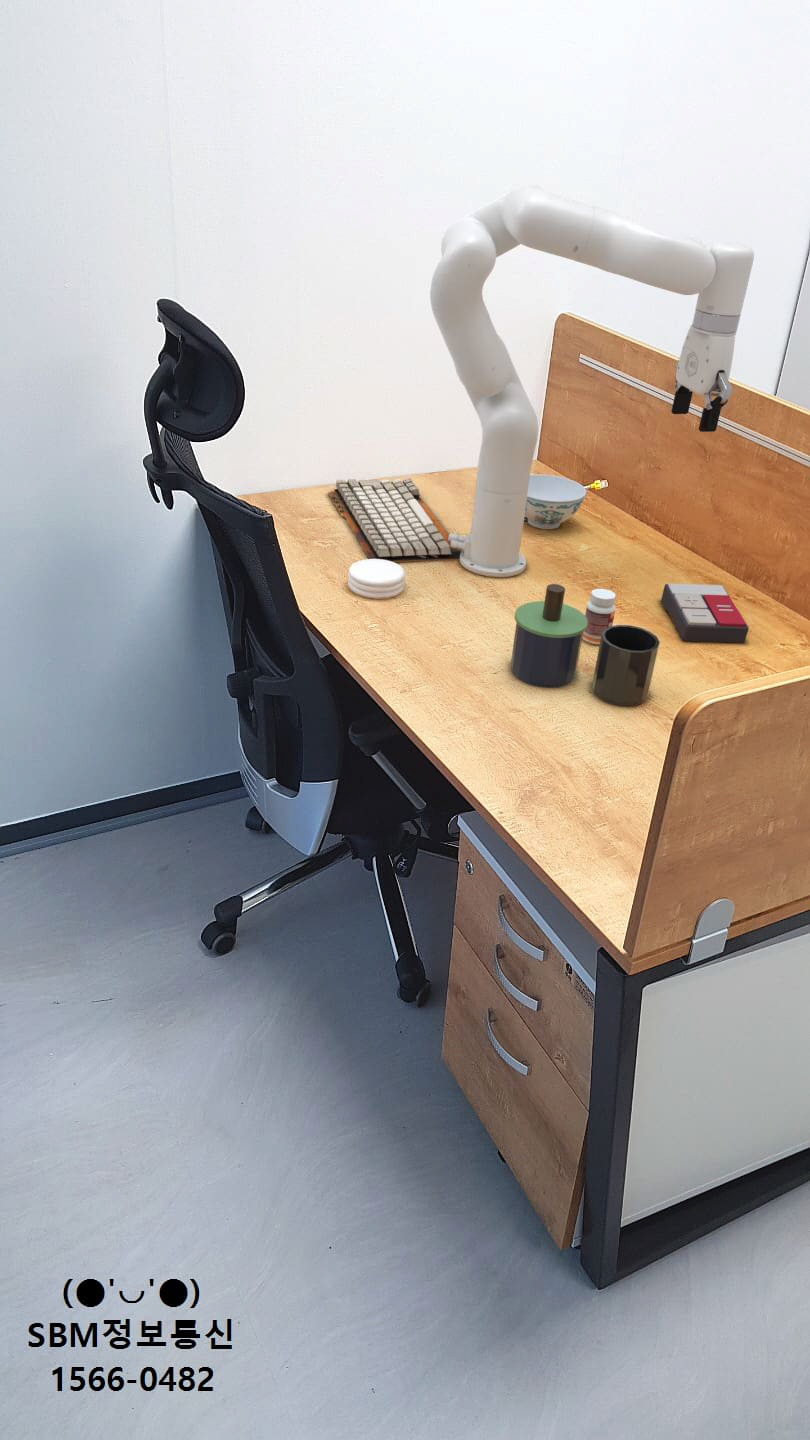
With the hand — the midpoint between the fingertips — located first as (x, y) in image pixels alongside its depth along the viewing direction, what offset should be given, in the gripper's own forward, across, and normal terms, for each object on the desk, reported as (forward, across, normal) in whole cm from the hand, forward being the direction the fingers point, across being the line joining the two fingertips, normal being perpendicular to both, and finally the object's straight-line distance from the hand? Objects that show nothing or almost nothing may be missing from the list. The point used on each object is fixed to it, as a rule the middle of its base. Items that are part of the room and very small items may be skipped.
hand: (692, 422), depth 195 cm
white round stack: (+30, -2, -56) cm, 63 cm away
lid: (+20, +32, -38) cm, 53 cm away
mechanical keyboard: (+30, -30, -44) cm, 61 cm away
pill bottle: (+30, +23, -24) cm, 45 cm away
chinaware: (+30, -26, -13) cm, 41 cm away
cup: (+29, +40, -28) cm, 57 cm away
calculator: (+29, +21, -3) cm, 36 cm away
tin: (+29, +32, -38) cm, 57 cm away
